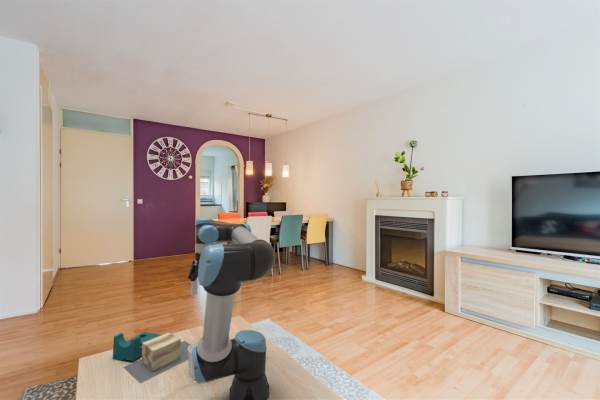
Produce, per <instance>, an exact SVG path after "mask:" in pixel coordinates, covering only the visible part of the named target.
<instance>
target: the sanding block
mask: <svg viewBox="0 0 600 400" xmlns="http://www.w3.org/2000/svg"><path fill="white" fill-rule="evenodd" d="M160 335H161V336H158V337H156V338H153V339H151V340H148V341H146V342H143V343H142V355H141V359H142V364H143V365H145V366H146V367H147V368H148V369H149V370H151V371H152V372H155V371H157V370H159V369H161V368H163V367H165V366H167V365H169V364H172V363H174V362H176V361H178V360H180V343H181V342H182V341H181V339H180V338H179V337H177V336H175V335H174V334H172V333H171V332H166V333H164V334H160Z"/></svg>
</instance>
